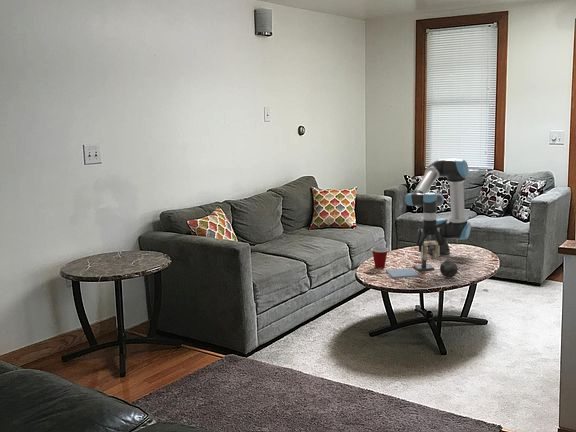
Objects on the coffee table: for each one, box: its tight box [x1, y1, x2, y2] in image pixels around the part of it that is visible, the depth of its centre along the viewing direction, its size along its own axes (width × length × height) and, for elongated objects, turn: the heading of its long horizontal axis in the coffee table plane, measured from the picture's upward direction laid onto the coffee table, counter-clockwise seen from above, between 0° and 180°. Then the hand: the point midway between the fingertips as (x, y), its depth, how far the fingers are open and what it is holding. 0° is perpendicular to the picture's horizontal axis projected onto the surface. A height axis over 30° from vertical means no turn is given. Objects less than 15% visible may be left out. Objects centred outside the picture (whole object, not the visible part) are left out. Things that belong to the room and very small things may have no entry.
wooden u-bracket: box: [422, 240, 439, 261], centre depth 373 cm, size 8×5×10 cm, turn 95°
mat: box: [385, 267, 420, 279], centre depth 377 cm, size 16×16×1 cm
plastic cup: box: [371, 246, 389, 269], centre depth 394 cm, size 11×11×12 cm
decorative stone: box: [439, 260, 458, 278], centre depth 365 cm, size 10×10×10 cm
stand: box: [413, 238, 435, 272], centre depth 380 cm, size 10×22×18 cm, turn 5°
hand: (429, 256), depth 373 cm, fingers open, 9 cm apart
